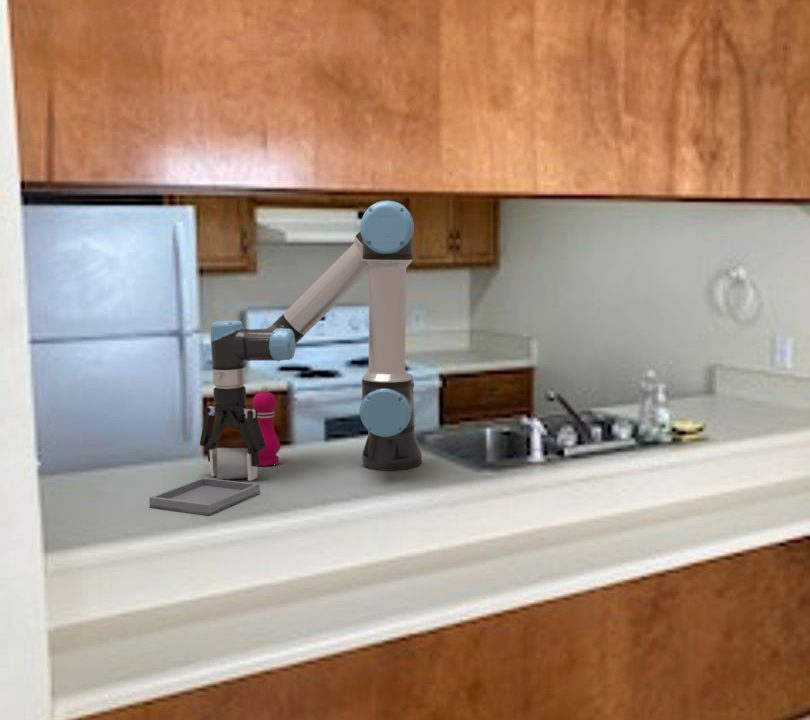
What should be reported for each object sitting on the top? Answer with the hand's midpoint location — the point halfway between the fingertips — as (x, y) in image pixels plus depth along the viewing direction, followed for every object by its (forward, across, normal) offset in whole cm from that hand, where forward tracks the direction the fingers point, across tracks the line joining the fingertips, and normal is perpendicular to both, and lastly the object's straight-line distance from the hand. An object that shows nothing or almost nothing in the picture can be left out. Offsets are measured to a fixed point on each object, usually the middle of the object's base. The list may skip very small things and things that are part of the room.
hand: (233, 477), depth 220 cm
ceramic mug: (0, -1, +1) cm, 1 cm away
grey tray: (0, +6, -18) cm, 19 cm away
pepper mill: (0, -1, +15) cm, 15 cm away
